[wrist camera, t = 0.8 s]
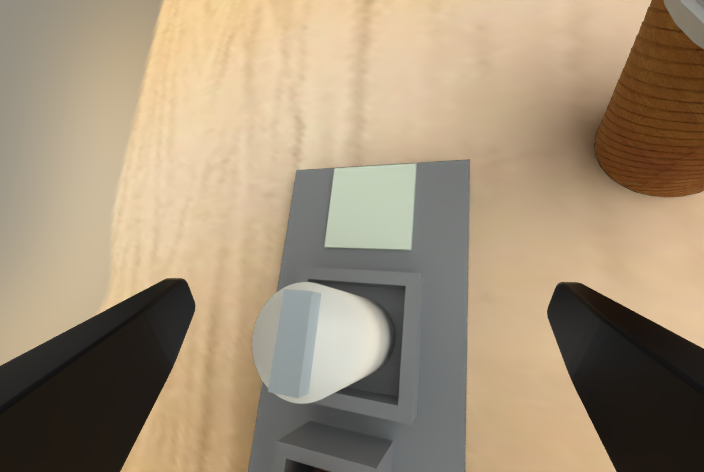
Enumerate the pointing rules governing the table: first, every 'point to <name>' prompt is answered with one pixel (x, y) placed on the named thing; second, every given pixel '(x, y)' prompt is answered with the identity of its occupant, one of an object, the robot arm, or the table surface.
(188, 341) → the table surface
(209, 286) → the table surface
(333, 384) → the cartridge
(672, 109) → the disposable coffee cup
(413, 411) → the housing
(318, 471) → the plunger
